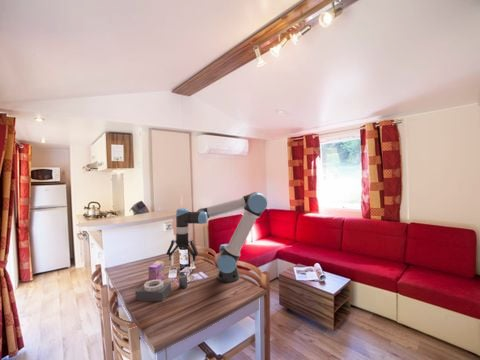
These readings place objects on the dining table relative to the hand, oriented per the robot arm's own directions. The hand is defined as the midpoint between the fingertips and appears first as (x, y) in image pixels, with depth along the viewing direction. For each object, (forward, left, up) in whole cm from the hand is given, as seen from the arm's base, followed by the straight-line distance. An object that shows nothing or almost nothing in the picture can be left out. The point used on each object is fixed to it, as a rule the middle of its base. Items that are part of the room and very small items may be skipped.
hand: (182, 265), depth 145 cm
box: (+21, -7, -14) cm, 26 cm away
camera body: (+14, +11, -14) cm, 22 cm away
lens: (0, 0, -14) cm, 14 cm away
